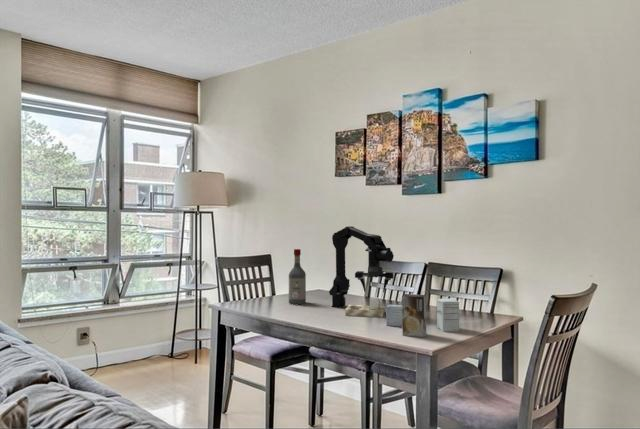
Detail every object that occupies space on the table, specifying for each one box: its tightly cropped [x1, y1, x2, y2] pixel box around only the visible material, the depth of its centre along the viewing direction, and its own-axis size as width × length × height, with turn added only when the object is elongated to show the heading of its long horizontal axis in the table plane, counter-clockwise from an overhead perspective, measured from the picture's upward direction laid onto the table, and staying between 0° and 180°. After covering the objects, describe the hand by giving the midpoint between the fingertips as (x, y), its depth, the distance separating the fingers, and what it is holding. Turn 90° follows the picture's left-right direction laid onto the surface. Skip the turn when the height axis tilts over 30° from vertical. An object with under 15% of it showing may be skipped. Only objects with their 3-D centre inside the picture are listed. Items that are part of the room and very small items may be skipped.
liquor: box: [288, 248, 307, 305], centre depth 267 cm, size 9×9×30 cm
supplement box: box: [436, 298, 460, 333], centre depth 204 cm, size 7×7×13 cm
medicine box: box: [385, 304, 402, 327], centre depth 212 cm, size 8×4×9 cm, turn 71°
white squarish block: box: [369, 296, 379, 309], centre depth 237 cm, size 4×4×8 cm
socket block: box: [344, 304, 385, 318], centre depth 238 cm, size 18×13×3 cm
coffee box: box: [401, 293, 428, 338], centre depth 195 cm, size 9×6×16 cm
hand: (374, 292), depth 237 cm, fingers open, 9 cm apart
